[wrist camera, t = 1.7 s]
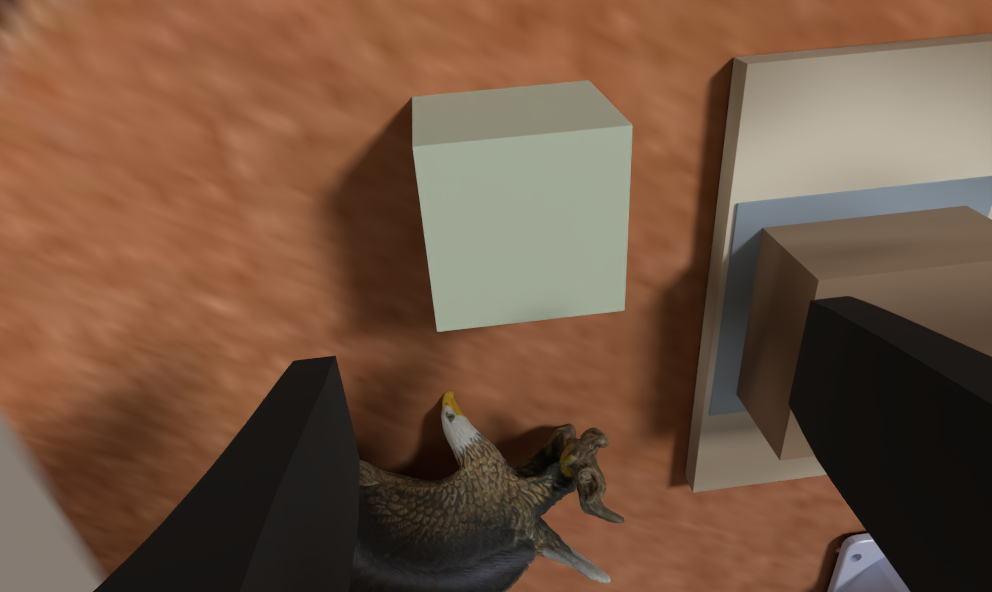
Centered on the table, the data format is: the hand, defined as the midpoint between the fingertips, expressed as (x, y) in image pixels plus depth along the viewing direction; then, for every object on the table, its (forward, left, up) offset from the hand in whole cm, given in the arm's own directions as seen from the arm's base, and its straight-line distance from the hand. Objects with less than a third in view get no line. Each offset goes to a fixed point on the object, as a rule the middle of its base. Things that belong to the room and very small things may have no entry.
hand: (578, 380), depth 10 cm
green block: (0, 0, -9) cm, 9 cm away
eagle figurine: (-9, +2, -9) cm, 13 cm away
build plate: (-5, -12, -9) cm, 16 cm away
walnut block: (-5, -10, -8) cm, 14 cm away
